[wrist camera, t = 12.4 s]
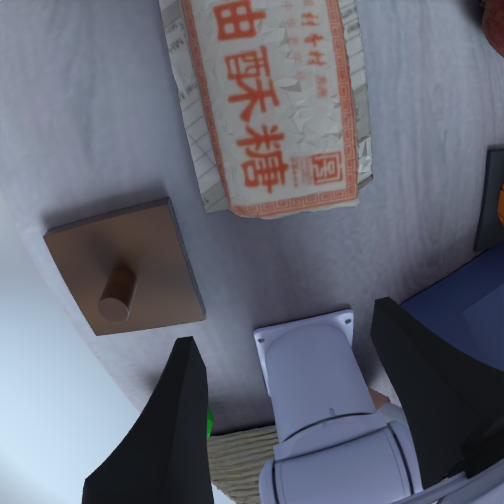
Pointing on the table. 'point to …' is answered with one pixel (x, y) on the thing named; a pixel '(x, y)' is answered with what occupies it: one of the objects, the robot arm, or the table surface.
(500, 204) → the orange grooved ring
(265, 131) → the packaged product
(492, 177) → the rubber pad
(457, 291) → the phone stand
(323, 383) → the robot arm
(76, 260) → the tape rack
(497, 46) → the apple
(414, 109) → the table surface
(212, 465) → the fossil tooth
